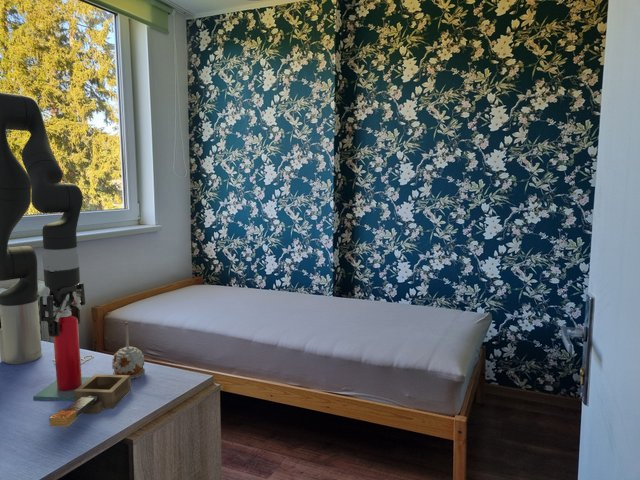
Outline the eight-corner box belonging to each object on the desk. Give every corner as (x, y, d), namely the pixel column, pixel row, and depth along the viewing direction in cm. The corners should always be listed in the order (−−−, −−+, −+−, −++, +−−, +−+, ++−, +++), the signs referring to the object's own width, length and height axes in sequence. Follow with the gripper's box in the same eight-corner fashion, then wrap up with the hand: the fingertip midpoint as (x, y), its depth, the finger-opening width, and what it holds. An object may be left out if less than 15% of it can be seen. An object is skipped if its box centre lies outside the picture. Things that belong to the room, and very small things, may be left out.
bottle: (57, 384, 113) (52, 307, 110) (81, 379, 115) (76, 305, 113) (56, 393, 108) (50, 313, 105) (82, 388, 111) (76, 310, 108)
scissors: (92, 352, 135) (98, 376, 118) (92, 355, 135) (99, 379, 118) (52, 359, 129) (52, 386, 112) (52, 362, 129) (52, 389, 113)
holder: (68, 412, 100) (67, 396, 100) (95, 389, 112) (94, 374, 111) (107, 414, 100) (106, 397, 100) (130, 390, 112) (130, 375, 111)
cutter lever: (83, 400, 102) (83, 392, 101) (98, 400, 101) (98, 393, 101) (50, 426, 90) (49, 417, 90) (67, 426, 90) (67, 418, 90)
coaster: (33, 399, 106) (33, 396, 106) (61, 379, 117) (61, 376, 117) (78, 400, 106) (77, 397, 106) (102, 380, 117) (102, 377, 117)
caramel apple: (106, 378, 118) (103, 324, 116) (130, 367, 125) (128, 316, 123) (127, 384, 115) (124, 328, 113) (150, 372, 122) (148, 320, 120)
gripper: (64, 259, 114) (67, 320, 117) (26, 271, 100) (30, 339, 103) (92, 260, 114) (95, 321, 116) (58, 272, 100) (62, 341, 102)
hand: (65, 329), depth 110 cm, fingers open, 8 cm apart
